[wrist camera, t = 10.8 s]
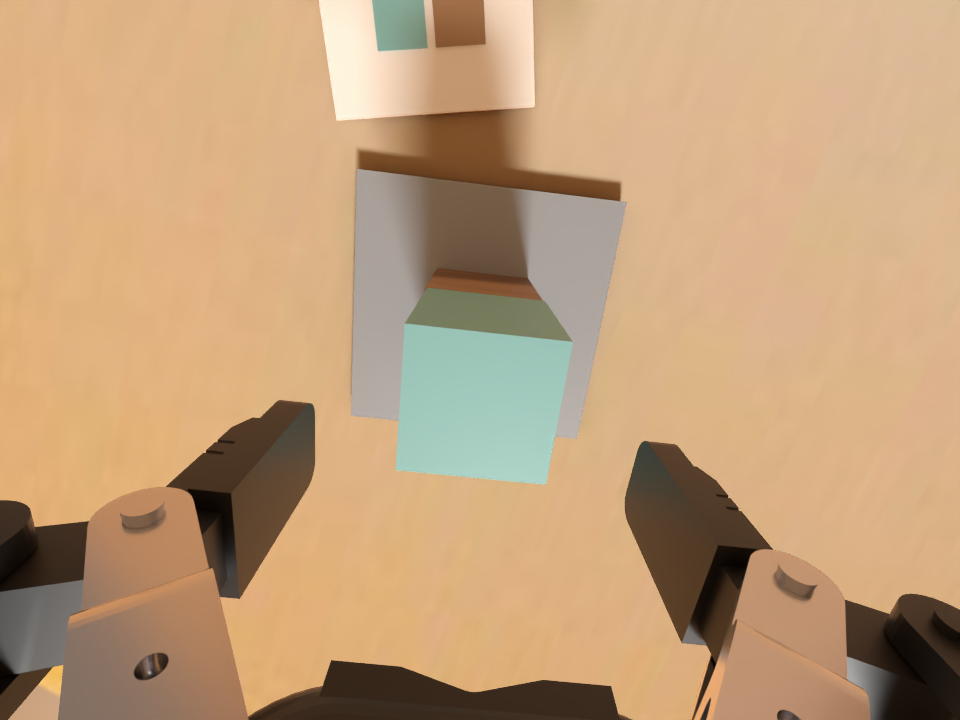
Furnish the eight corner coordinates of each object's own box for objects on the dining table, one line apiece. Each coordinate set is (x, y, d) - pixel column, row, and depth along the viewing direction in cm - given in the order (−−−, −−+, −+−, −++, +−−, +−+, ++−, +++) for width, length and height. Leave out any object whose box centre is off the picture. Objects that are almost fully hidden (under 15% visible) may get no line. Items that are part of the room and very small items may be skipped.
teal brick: (427, 287, 19) (404, 323, 13) (544, 300, 19) (573, 341, 13) (419, 396, 20) (395, 470, 15) (527, 407, 21) (545, 484, 15)
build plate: (360, 169, 24) (356, 168, 23) (622, 202, 24) (626, 202, 23) (354, 410, 28) (351, 415, 27) (574, 432, 29) (576, 438, 28)
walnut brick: (437, 267, 24) (424, 286, 19) (528, 278, 25) (542, 300, 19) (430, 354, 26) (416, 395, 20) (515, 363, 26) (525, 407, 21)
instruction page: (308, -78, 20) (306, -83, 20) (530, -95, 20) (531, -100, 20) (337, 120, 23) (335, 119, 23) (534, 107, 23) (534, 106, 22)
